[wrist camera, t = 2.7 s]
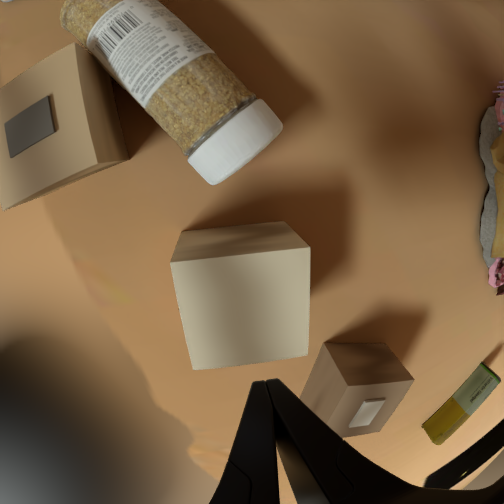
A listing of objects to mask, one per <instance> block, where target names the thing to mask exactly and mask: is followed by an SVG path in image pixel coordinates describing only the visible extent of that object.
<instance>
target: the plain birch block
mask: <svg viewBox="0 0 504 504" xmlns="http://www.w3.org/2000/svg"><path fill="white" fill-rule="evenodd" d="M170 265H171V270H172V276H173V281H174V286H175V291H176V296H177V301H178V306H179V311H180V316H181V320H182V325H183V329H184V334H185V338H186V342H187V346H188V351H189V355H190V359H191V363H192V367H193V370H202V369H213V368H222V367H232V366H240V365H248V364H255V363H263V362H269V361H276V360H282V359H288V358H294V357H300V356H305V355H308V336H309V308H310V246H309V245H308V244H307V243H306V242H305V241H304V240H303V239H302V238H301V237H300V236H299V235H298V234H297V233H296V232H295V231H294V230H293V229H292V228H291V227H290V226H289V225H288V224H287V223H286V222H285V221H279V222H268V223H258V224H247V225H238V226H228V227H219V228H209V229H200V230H191V231H183V232H181V234H180V237H179V239H178V242H177V245H176V247H175V250H174V253H173V256H172V259H171V262H170Z"/></svg>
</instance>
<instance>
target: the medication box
mask: <svg viewBox="0 0 504 504" xmlns="http://www.w3.org/2000/svg"><path fill="white" fill-rule="evenodd" d="M500 382H501V379H500V377H499V376H498V375H497V374H496V373H495V372H494V371H493V370H492V369H490V368H489V367H488V366H487V365H486V364H485V363H484V362H481V363H480V365H479V366H478V367H477V368H476V370H475V371H474V372H473V373H472V374H471V375H470V377H469V378H468V379H467V380H466V381H465V382H464V384H463V385H462V386H461V387H460V388H459V389H458V390H457V391H456V392H455V393H454V394H453V396H452V397H451V398H450V399H449V400H448V401H447V402H446V403H445V404H444V405H443V406H442V407H441V408H440V409H439V410H438V411H437V412H436V413H435V414H434V415H433V416H432V417H431V418H430V419H428V420H427V421H426V422H425V423H424V424H423V425H422V428H424V430H425V431H426V433H427V434H428V436H429V438H430V439H431V440H432V442H433V443H434V444H436V445H441V444H442V443H443V442H444V441H445V440H446V439H447V438H449V437H450V436H451V435H452V434H453V433H454V432H455V431H456V430H457V429H458V428H459V427H460V426H461V425H462V424H463V423H464V422H465V421H466V420H467V419H468V418H469V417H470V416H471V415H472V414H473V413H474V412H475V411H476V410H477V408H478V407H479V406H480V405H481V404H482V403H483V402H484V401H485V400H486V398H487V397H488V396H489V395H490V394H491V392H492V391H493V390H494V389H495V388H496V386H497V385H498V384H499V383H500Z"/></svg>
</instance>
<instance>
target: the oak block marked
mask: <svg viewBox="0 0 504 504" xmlns="http://www.w3.org/2000/svg"><path fill="white" fill-rule="evenodd" d="M127 160H130V159H129V155H128V152H127V148H126V144H125V140H124V136H123V132H122V128H121V124H120V120H119V116H118V111H117V107H116V102H115V98H114V93H113V88H112V83H111V78H110V74H109V73H108V72H107V71H106V70H105V69H104V68H103V67H102V66H101V65H100V64H99V63H98V62H97V60H96V59H95V58H94V56H93V55H91V54H90V53H89V52H87V51H86V50H85V49H83V48H82V47H81V46H79V45H78V44H77V43H75V42H73V43H72V44H70V45H68V46H66V47H64V48H62V49H60V50H59V51H57V52H55V53H53V54H52V55H50V56H48V57H46V58H45V59H43V60H41V61H40V62H38V63H37V64H35V65H34V66H32V67H30V68H29V69H27V70H26V71H24V72H23V73H21V74H20V75H19V76H17V77H16V78H14V79H13V80H12V81H10V82H9V83H7V84H6V85H5V86H3V87H2V88H1V89H0V203H1V206H2V210H3V211H4V210H7V209H10V208H12V207H15V206H17V205H20V204H22V203H25V202H28V201H31V200H33V199H36V198H39V197H42V196H45V195H48V194H50V193H52V192H54V191H56V190H58V189H60V188H63V187H65V186H67V185H69V184H71V183H73V182H76V181H78V180H80V179H82V178H85V177H87V176H89V175H92V174H94V173H97V172H99V171H101V170H104V169H106V168H109V167H111V166H114V165H117V164H119V163H122V162H124V161H127Z"/></svg>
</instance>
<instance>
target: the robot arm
mask: <svg viewBox="0 0 504 504" xmlns="http://www.w3.org/2000/svg"><path fill="white" fill-rule="evenodd" d="M276 447H277V450H278V452H279V455H280V458H281V461H282V463H283V466H284V469H285V472H286V474H287V477H288V480H289V482H290V485H291V488H292V490H293V493H294V496H295V498H296V501H297V504H504V475H503V476H502V477H501V478H500V479H499V480H497V481H496V482H495V483H494V484H493V485H491V486H489V487H486V488H483V489H479V490H448V489H432V488H423V487H418V486H415V485H412V484H410V483H407V482H405V481H404V480H402V479H400V478H398V477H397V476H395V475H393V474H391V473H390V472H388V471H386V470H385V469H383V468H381V467H380V466H378V465H376V464H375V463H373V462H372V461H370V460H369V459H367V458H366V457H364V456H363V455H362V454H360V453H359V452H358V451H357V450H355V449H354V448H353V447H352V446H351V445H349V444H348V443H347V442H346V441H345V440H343V439H342V438H341V437H340V436H339V435H338V434H337V433H336V432H335V431H333V430H332V429H331V428H330V427H329V426H328V425H327V424H326V423H325V422H324V421H322V420H321V419H320V418H319V417H318V416H317V415H316V414H315V413H314V412H313V411H312V410H311V409H310V408H308V407H307V406H306V405H305V404H304V403H303V402H302V401H301V400H300V399H299V398H298V397H297V396H296V395H295V394H294V393H293V392H292V391H291V390H290V389H289V388H288V387H287V386H286V385H285V384H284V383H283V382H282V381H280V380H279V379H278V378H275V379H269V380H266V382H265V381H264V380H262V381H254V382H253V383H252V385H251V388H250V392H249V395H248V398H247V401H246V405H245V408H244V411H243V414H242V418H241V421H240V424H239V427H238V430H237V433H236V437H235V440H234V443H233V446H232V449H231V452H230V455H229V458H228V462H227V464H226V467H225V470H224V472H223V475H222V477H221V480H220V483H219V485H218V487H217V489H216V491H215V493H214V495H213V497H212V499H211V501H210V503H209V504H280V498H279V482H278V467H277V452H276Z"/></svg>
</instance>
